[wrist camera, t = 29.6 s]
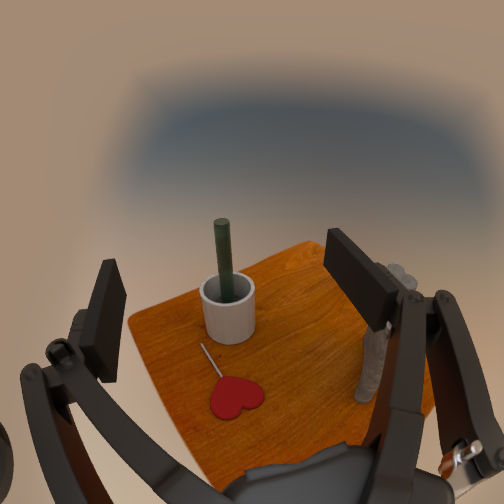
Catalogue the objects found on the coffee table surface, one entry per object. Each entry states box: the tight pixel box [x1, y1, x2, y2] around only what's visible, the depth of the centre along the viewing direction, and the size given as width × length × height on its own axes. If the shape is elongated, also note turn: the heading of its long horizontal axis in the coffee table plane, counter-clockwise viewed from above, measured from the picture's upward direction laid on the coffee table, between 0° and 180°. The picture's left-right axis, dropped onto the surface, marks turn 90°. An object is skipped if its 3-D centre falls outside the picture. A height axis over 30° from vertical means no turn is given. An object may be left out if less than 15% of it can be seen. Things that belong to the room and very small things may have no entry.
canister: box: [199, 272, 255, 345], centre depth 48 cm, size 9×9×9 cm
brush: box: [214, 218, 242, 304], centre depth 45 cm, size 5×5×20 cm
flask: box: [354, 263, 418, 404], centre depth 36 cm, size 4×14×18 cm, turn 158°
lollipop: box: [200, 343, 264, 420], centre depth 41 cm, size 8×1×15 cm
